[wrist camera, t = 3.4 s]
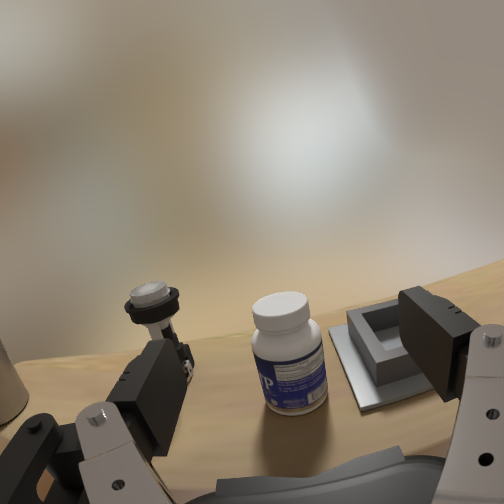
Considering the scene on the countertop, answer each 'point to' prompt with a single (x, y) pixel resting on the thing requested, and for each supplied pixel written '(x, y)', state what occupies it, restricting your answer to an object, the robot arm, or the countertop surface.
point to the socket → (377, 356)
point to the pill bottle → (289, 354)
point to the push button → (159, 316)
